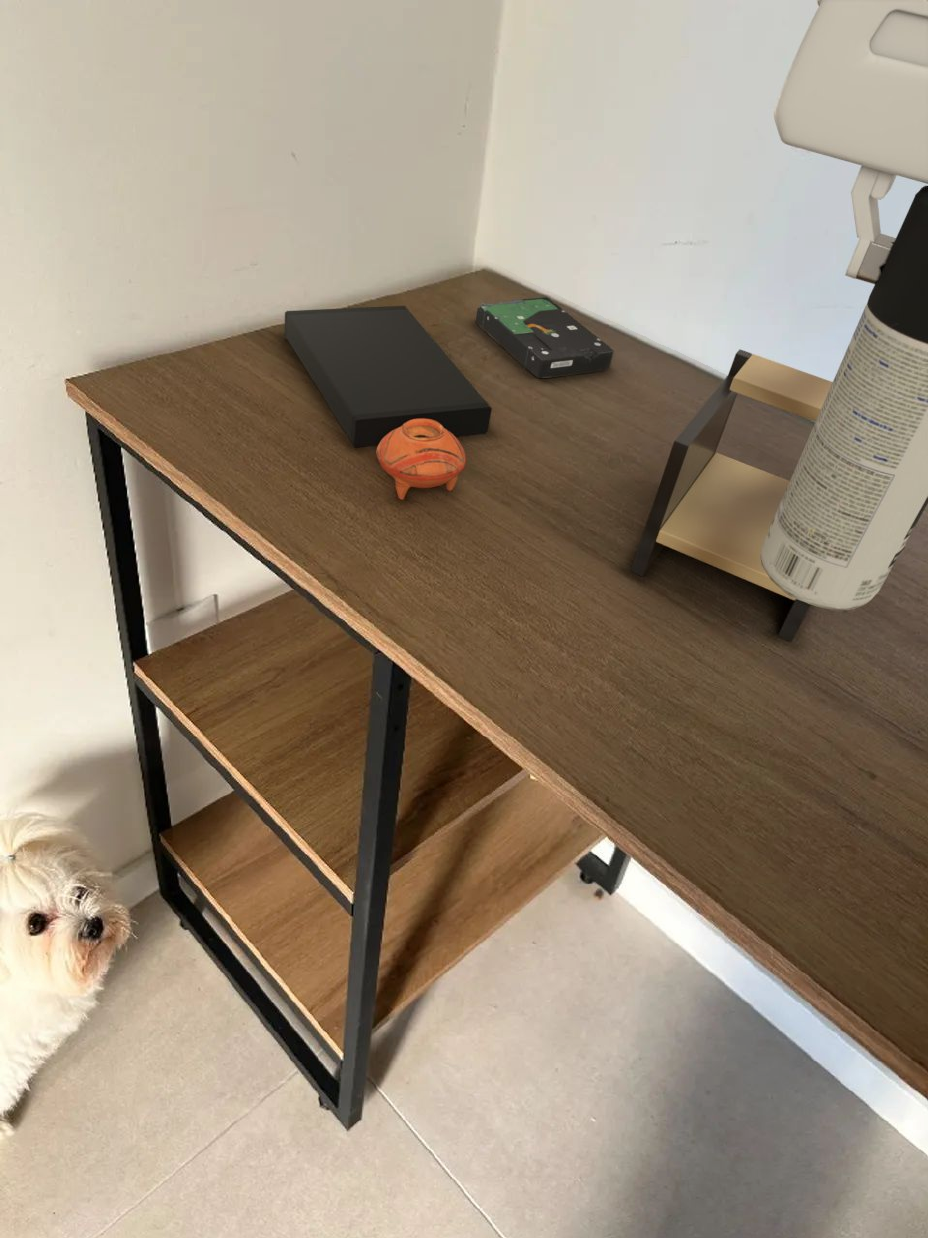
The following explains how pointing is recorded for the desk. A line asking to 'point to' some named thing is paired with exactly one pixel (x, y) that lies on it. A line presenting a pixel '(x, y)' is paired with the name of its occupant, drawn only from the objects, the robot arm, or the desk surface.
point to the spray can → (864, 446)
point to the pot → (421, 456)
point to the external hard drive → (383, 372)
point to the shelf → (728, 481)
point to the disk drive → (544, 337)
